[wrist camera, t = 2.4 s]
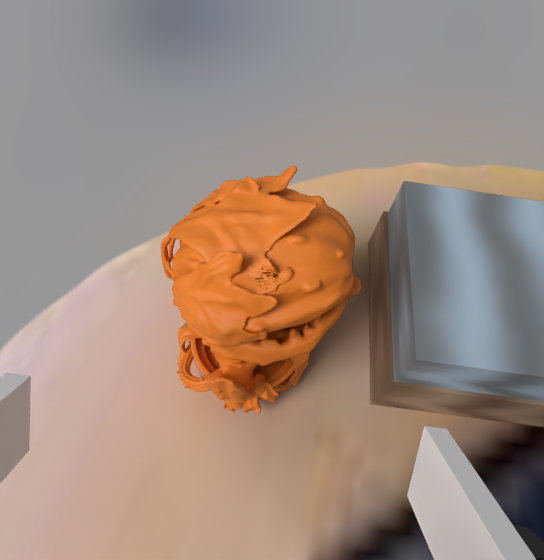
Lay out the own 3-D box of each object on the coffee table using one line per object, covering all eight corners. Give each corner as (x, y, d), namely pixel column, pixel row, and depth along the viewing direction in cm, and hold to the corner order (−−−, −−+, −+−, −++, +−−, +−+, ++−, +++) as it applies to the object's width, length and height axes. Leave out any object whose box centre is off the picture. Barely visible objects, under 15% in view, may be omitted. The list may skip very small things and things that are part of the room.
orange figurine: (312, 441, 32) (398, 339, 17) (160, 417, 32) (104, 292, 16) (323, 304, 38) (394, 134, 22) (194, 283, 38) (176, 98, 22)
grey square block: (526, 265, 42) (590, 205, 35) (565, 429, 34) (657, 397, 27) (368, 242, 41) (400, 177, 34) (370, 404, 34) (411, 363, 26)
